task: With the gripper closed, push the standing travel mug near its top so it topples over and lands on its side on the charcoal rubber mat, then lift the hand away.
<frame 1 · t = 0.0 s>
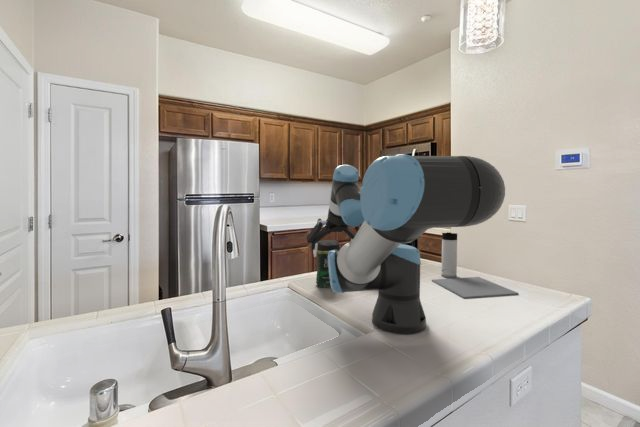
hand: (332, 253, 116), 15 cm above the counter, tool tilted 35°, fingers open, 13 cm apart
travel mug: (448, 276, 140), on the counter
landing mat: (471, 287, 124), on the counter
coffee jar: (328, 285, 129), on the counter
utensil holder: (371, 277, 140), on the counter
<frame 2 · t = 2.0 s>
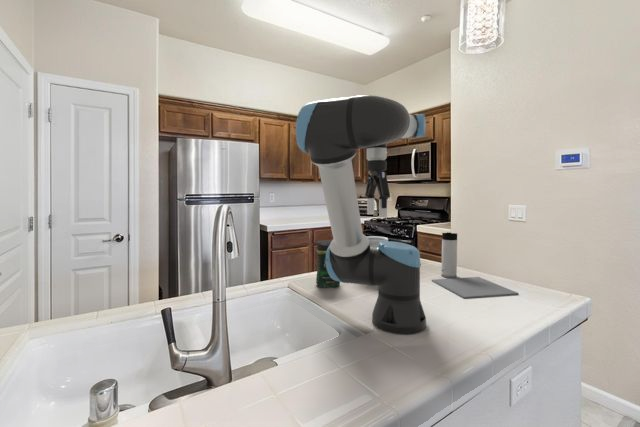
hand: (376, 215, 121), 29 cm above the counter, tool pointing down, fingers open, 13 cm apart
nothing on the counter moved.
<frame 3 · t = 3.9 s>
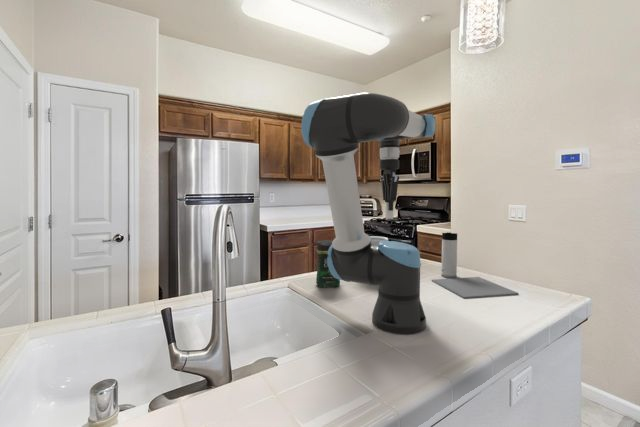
hand: (389, 218, 126), 27 cm above the counter, tool pointing down, fingers closed
nothing on the counter moved.
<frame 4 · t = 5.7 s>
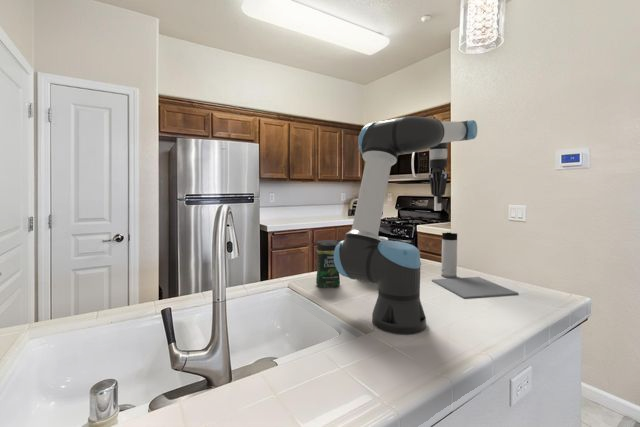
hand: (437, 210, 146), 29 cm above the counter, tool pointing down, fingers closed
nothing on the counter moved.
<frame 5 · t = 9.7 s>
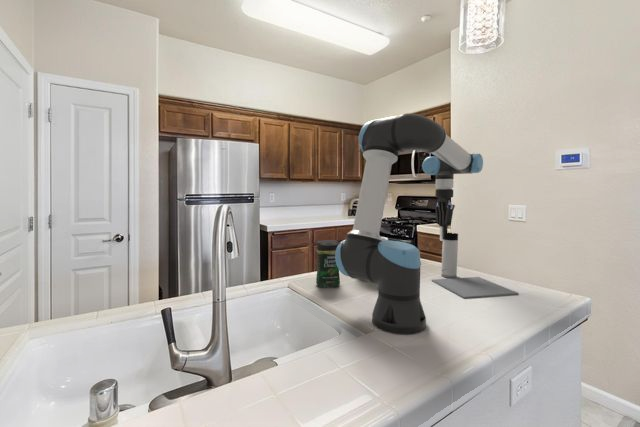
hand: (443, 240, 143), 15 cm above the counter, tool pointing down, fingers closed
travel mug: (448, 276, 140), on the counter, touching gripper
everything else where it was.
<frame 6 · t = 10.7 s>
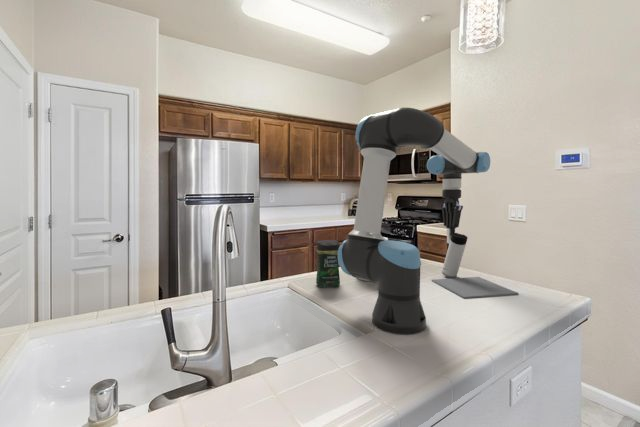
hand: (450, 243, 137), 15 cm above the counter, tool pointing down, fingers closed
travel mug: (449, 274, 139), point 1 cm above the counter
everything else where it was.
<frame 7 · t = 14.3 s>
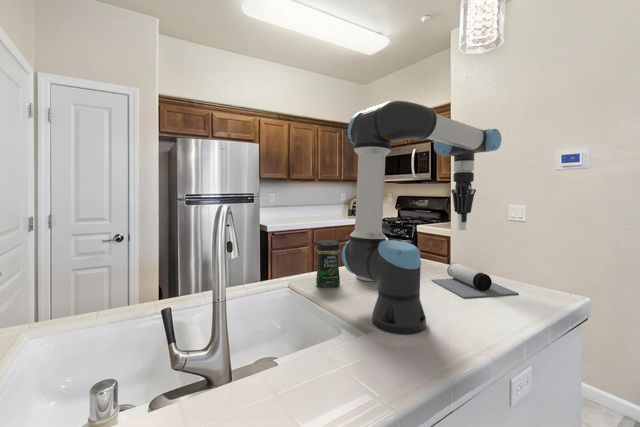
hand: (461, 229, 129), 22 cm above the counter, tool pointing down, fingers closed
travel mug: (452, 270, 137), point 4 cm above the counter, touching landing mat
everything else where it was.
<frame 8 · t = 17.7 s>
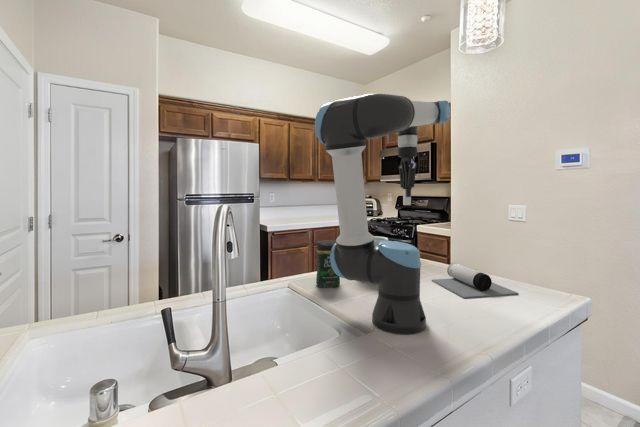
hand: (406, 204, 130), 32 cm above the counter, tool pointing down, fingers closed
nothing on the counter moved.
at the end: travel mug tilted 90°; travel mug touching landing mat; travel mug inside the target area (1.2 cm from its centre), point 3.6 cm above the counter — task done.
